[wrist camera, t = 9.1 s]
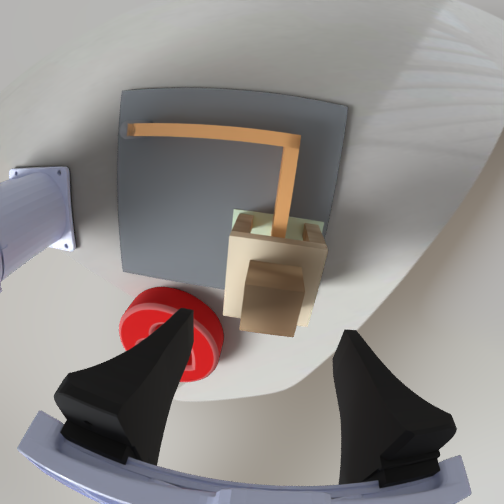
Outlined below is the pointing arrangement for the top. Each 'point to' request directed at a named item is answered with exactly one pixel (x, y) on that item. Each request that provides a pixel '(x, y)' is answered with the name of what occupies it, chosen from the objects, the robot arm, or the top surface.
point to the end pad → (265, 220)
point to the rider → (272, 278)
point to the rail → (236, 134)
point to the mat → (215, 175)
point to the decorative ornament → (159, 311)
